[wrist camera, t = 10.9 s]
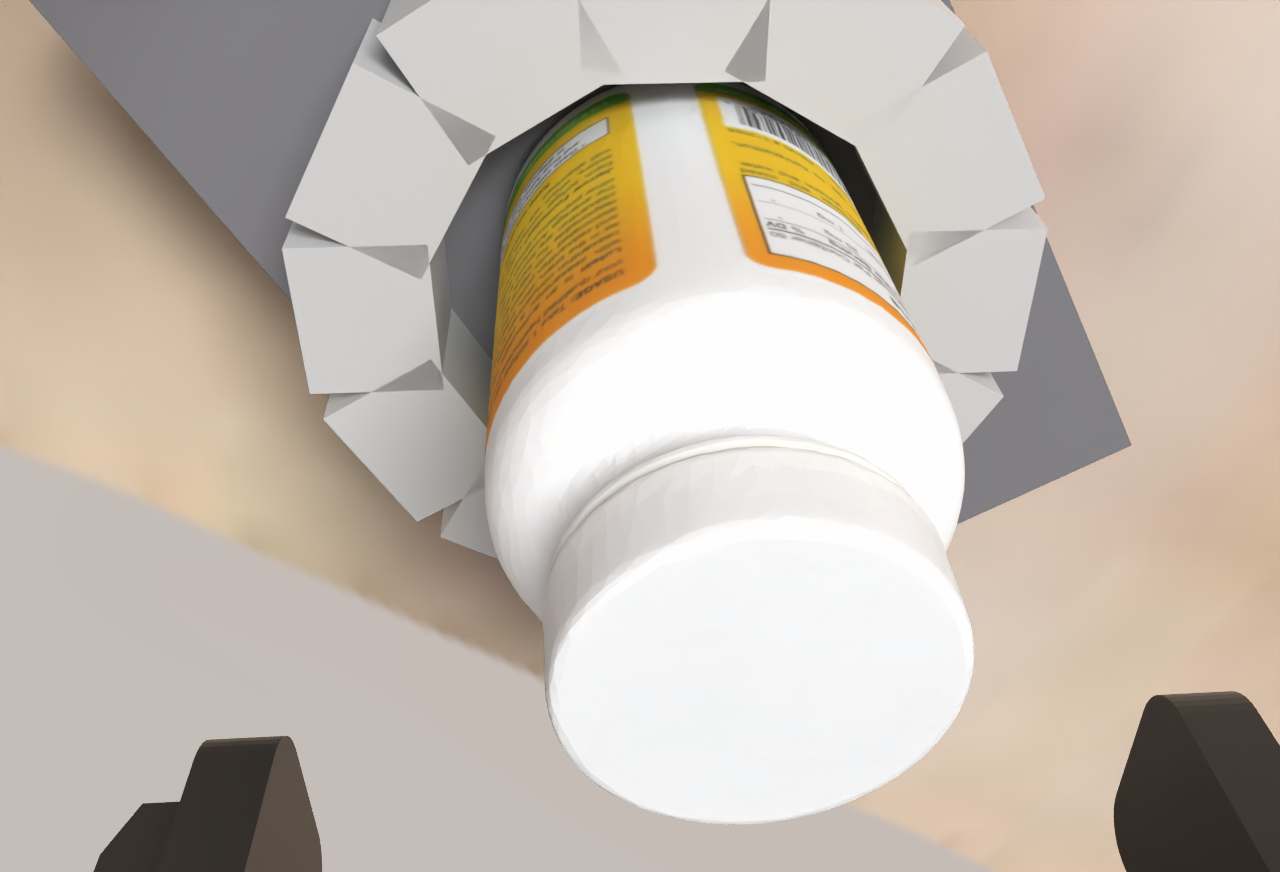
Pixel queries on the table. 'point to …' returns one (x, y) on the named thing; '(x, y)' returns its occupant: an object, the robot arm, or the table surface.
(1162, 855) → the robot arm
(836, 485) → the supplement bottle
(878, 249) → the camera body
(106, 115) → the table surface
